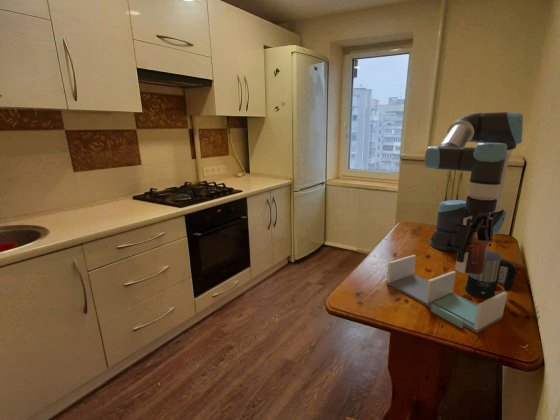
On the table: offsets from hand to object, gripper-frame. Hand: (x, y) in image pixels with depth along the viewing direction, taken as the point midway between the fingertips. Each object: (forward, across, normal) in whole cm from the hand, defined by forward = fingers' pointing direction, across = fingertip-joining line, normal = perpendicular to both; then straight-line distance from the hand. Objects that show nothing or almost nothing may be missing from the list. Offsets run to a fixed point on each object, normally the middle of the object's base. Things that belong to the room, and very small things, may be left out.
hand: (469, 267), depth 95 cm
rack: (+15, 0, -8) cm, 17 cm away
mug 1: (+1, +1, +1) cm, 2 cm away
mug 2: (+16, -36, -5) cm, 40 cm away
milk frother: (+16, -21, -5) cm, 27 cm away
